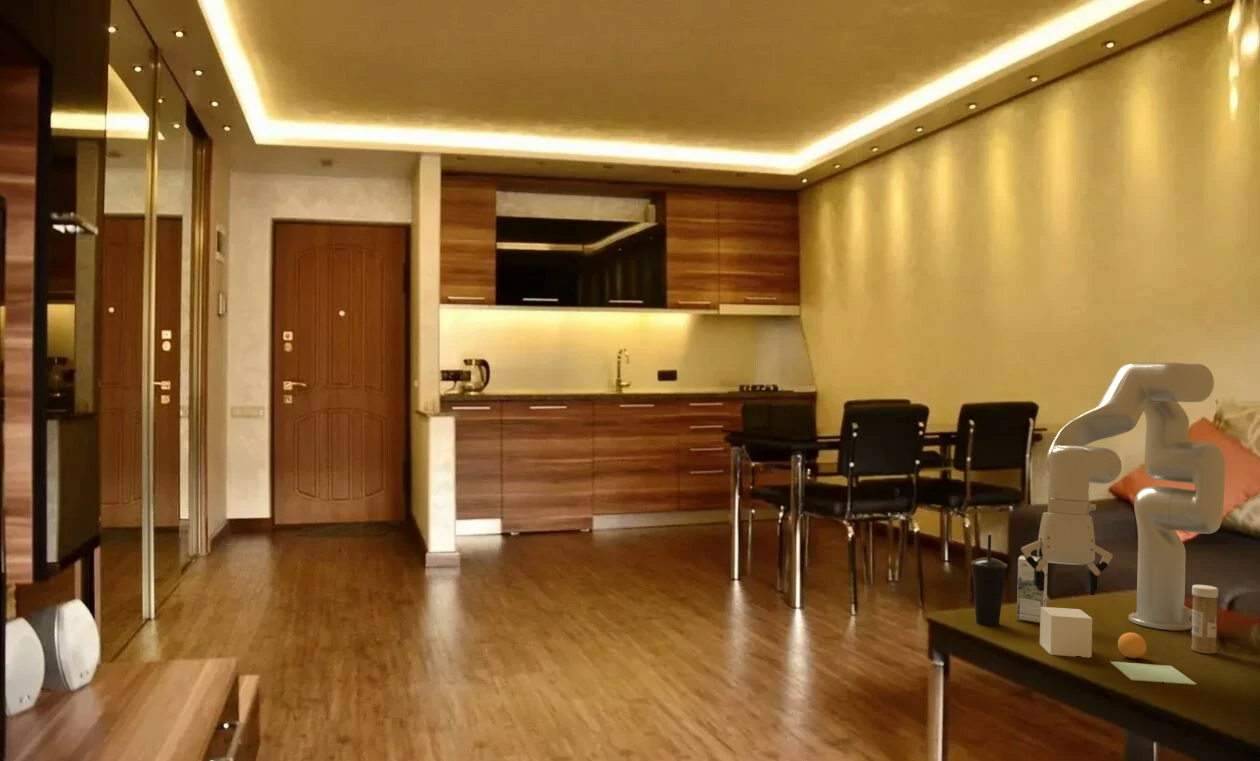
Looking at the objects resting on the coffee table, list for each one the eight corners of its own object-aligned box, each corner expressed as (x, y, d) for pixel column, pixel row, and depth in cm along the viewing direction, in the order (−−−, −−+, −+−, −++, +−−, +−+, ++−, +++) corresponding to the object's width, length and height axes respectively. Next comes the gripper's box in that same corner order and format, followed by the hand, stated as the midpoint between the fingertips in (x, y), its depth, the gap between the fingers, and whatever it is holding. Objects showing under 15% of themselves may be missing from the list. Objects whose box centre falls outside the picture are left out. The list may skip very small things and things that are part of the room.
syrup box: (1046, 619, 212) (1048, 557, 212) (1042, 624, 207) (1044, 560, 207) (1020, 615, 215) (1022, 553, 215) (1016, 620, 210) (1017, 557, 210)
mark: (1171, 666, 177) (1171, 665, 177) (1196, 685, 166) (1196, 683, 166) (1110, 662, 179) (1110, 661, 179) (1131, 680, 168) (1131, 679, 168)
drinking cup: (999, 619, 210) (1001, 533, 210) (1010, 628, 203) (1012, 538, 203) (965, 618, 211) (967, 531, 211) (974, 626, 203) (977, 537, 203)
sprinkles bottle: (1219, 655, 186) (1221, 589, 186) (1194, 653, 187) (1195, 587, 187) (1212, 649, 190) (1214, 585, 190) (1187, 647, 191) (1189, 583, 191)
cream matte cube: (1078, 646, 189) (1079, 609, 189) (1091, 657, 182) (1092, 618, 182) (1039, 644, 191) (1040, 606, 191) (1050, 654, 183) (1051, 615, 183)
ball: (1140, 655, 184) (1140, 630, 184) (1150, 662, 180) (1150, 637, 180) (1113, 653, 185) (1114, 628, 185) (1123, 660, 180) (1123, 635, 180)
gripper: (1106, 508, 189) (1103, 591, 188) (1018, 503, 191) (1015, 584, 191) (1120, 512, 181) (1117, 599, 181) (1028, 507, 184) (1025, 592, 184)
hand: (1064, 591), depth 186 cm, fingers open, 9 cm apart
